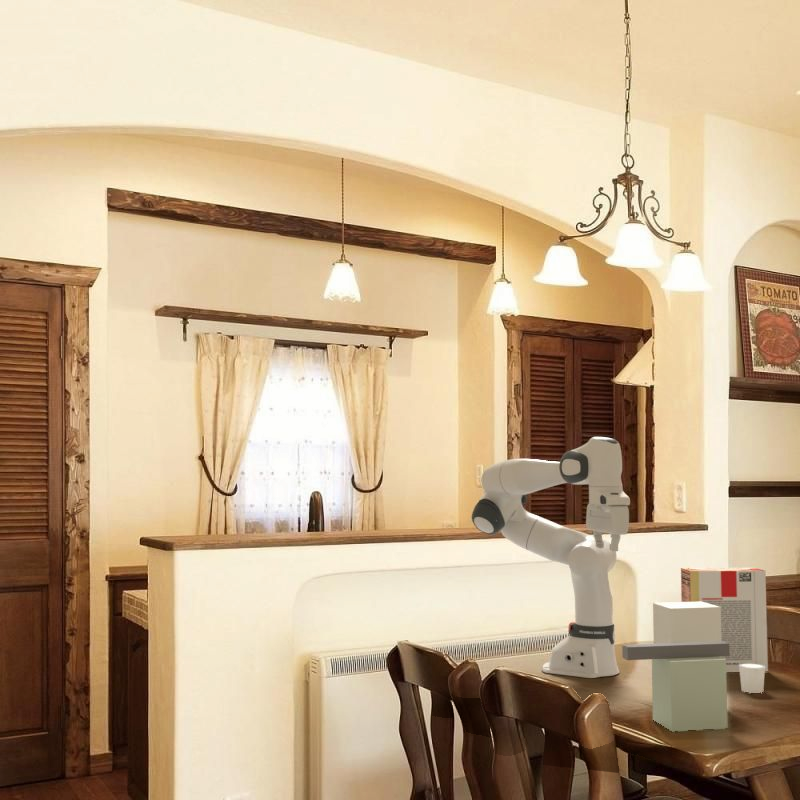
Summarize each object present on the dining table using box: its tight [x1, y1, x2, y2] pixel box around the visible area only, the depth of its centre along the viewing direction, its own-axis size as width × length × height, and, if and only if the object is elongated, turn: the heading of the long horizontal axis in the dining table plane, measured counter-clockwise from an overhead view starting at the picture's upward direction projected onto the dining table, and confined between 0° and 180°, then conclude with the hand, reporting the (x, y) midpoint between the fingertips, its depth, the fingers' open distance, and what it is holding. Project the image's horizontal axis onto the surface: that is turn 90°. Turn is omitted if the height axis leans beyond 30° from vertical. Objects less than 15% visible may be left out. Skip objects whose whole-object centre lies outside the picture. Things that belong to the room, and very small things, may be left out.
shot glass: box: [739, 663, 766, 694], centre depth 261 cm, size 7×7×7 cm
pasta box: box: [680, 567, 769, 672], centre depth 289 cm, size 23×8×30 cm, turn 93°
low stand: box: [651, 657, 728, 733], centre depth 228 cm, size 14×10×16 cm
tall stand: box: [652, 601, 722, 658], centre depth 250 cm, size 14×10×25 cm
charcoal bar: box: [621, 641, 730, 661], centre depth 228 cm, size 26×3×3 cm, turn 101°
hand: (606, 549), depth 255 cm, fingers open, 8 cm apart
